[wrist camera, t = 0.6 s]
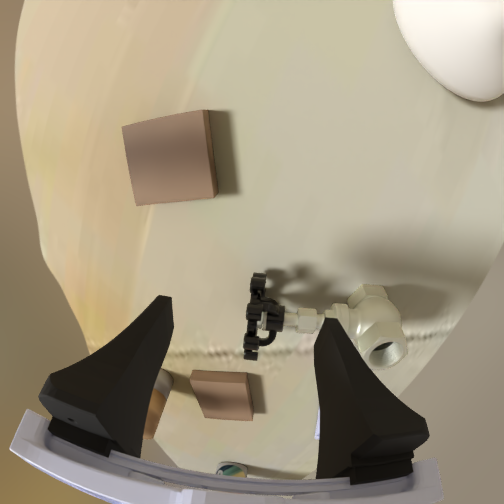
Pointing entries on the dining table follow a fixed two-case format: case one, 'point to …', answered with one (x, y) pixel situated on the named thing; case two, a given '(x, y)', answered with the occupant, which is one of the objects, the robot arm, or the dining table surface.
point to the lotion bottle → (231, 470)
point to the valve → (352, 319)
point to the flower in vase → (457, 43)
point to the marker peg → (157, 403)
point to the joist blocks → (182, 189)
